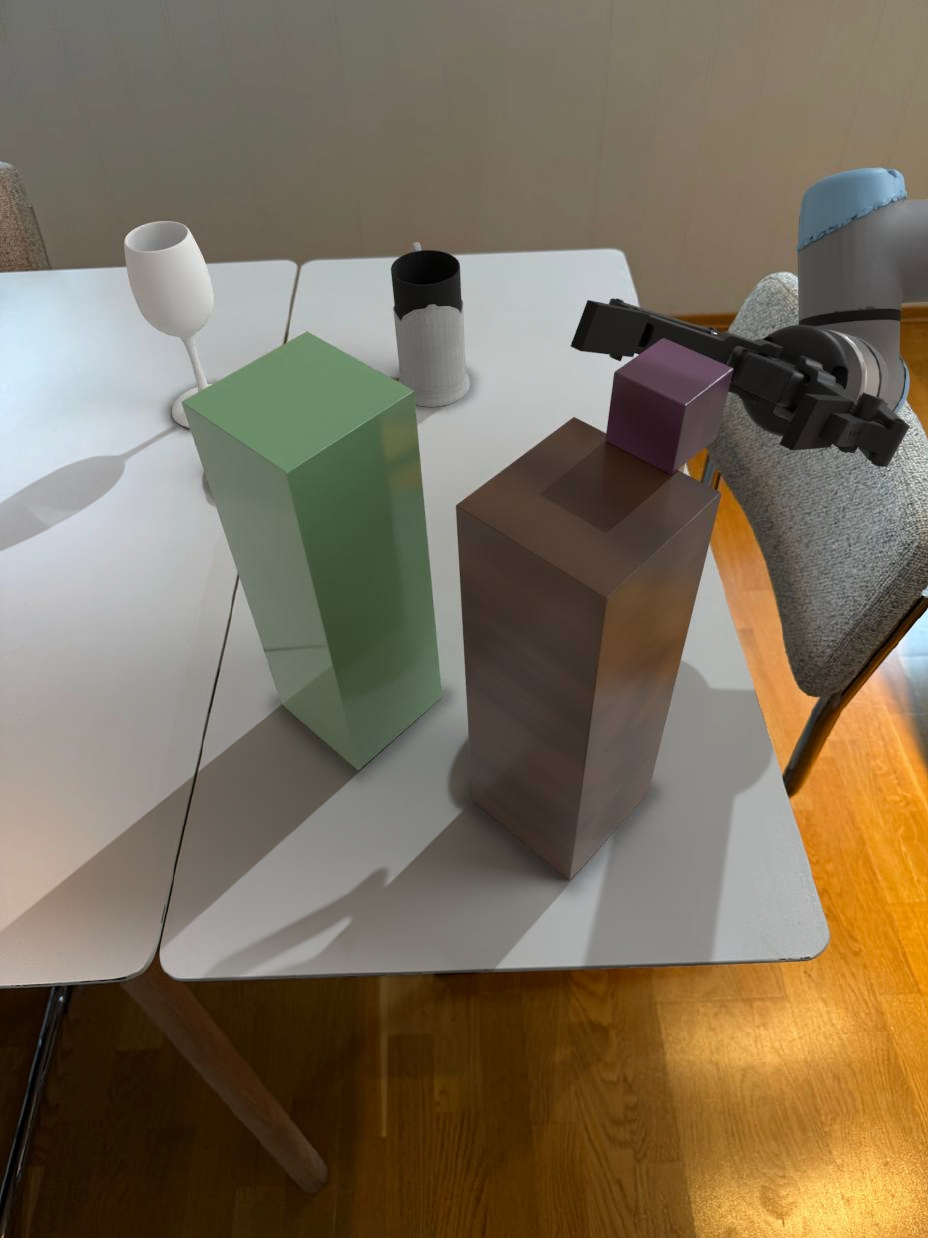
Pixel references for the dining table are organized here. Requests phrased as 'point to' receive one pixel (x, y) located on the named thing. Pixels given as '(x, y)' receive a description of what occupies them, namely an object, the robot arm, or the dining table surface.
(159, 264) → the wineglass
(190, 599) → the dining table surface
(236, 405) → the green stand
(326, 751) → the dining table surface
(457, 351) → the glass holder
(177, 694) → the dining table surface
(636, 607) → the stand
